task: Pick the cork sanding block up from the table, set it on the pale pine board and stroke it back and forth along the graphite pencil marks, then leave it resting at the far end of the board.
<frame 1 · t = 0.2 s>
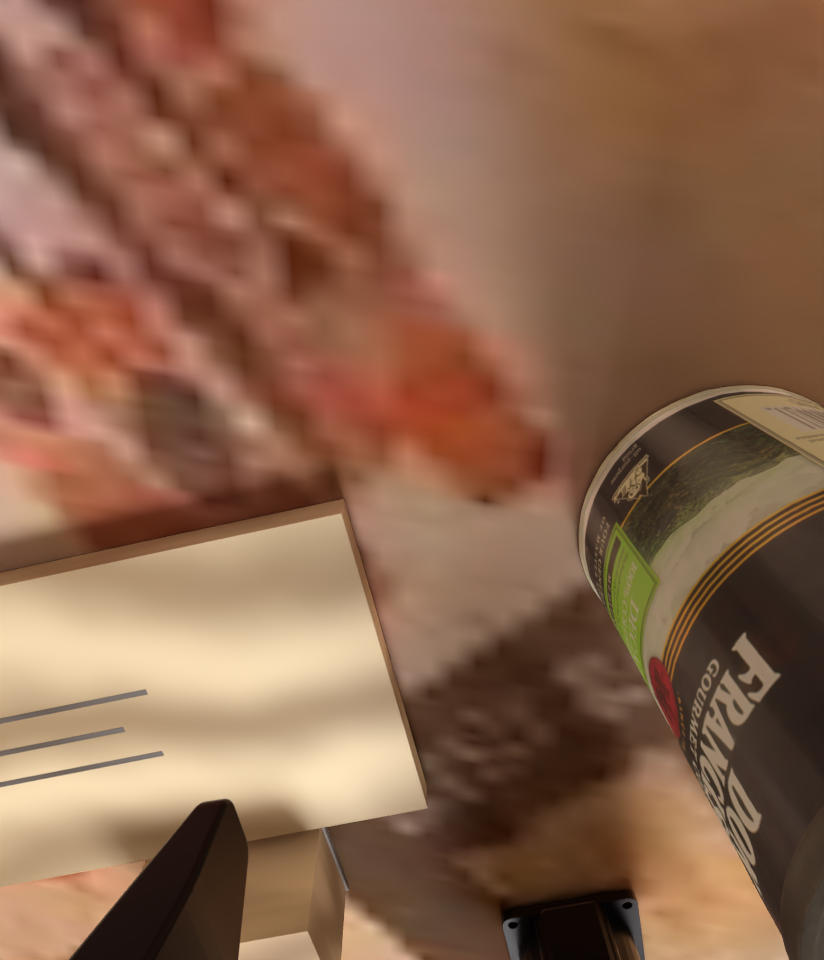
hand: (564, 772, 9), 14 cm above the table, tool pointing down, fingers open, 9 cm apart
coffee can: (715, 519, 24), on the table
sanding block: (250, 864, 30), on the table
board: (100, 714, 26), on the table
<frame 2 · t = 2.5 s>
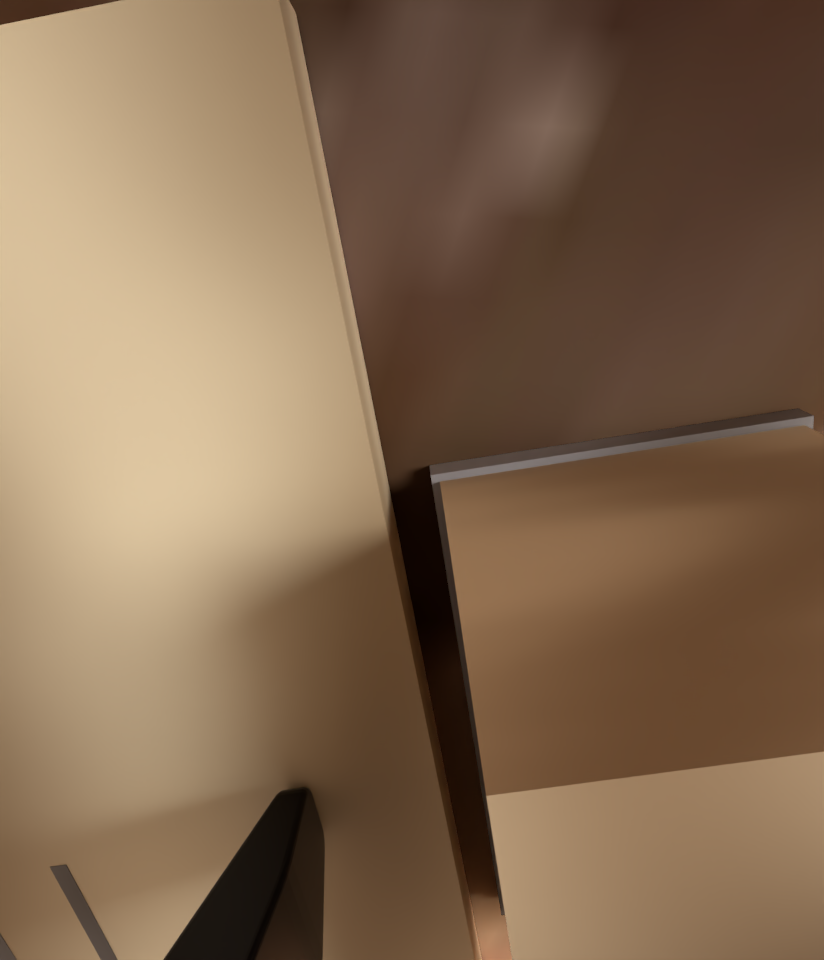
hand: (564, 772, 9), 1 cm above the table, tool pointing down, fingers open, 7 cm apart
sanding block: (621, 691, 10), on the table, touching gripper
board: (63, 910, 11), on the table
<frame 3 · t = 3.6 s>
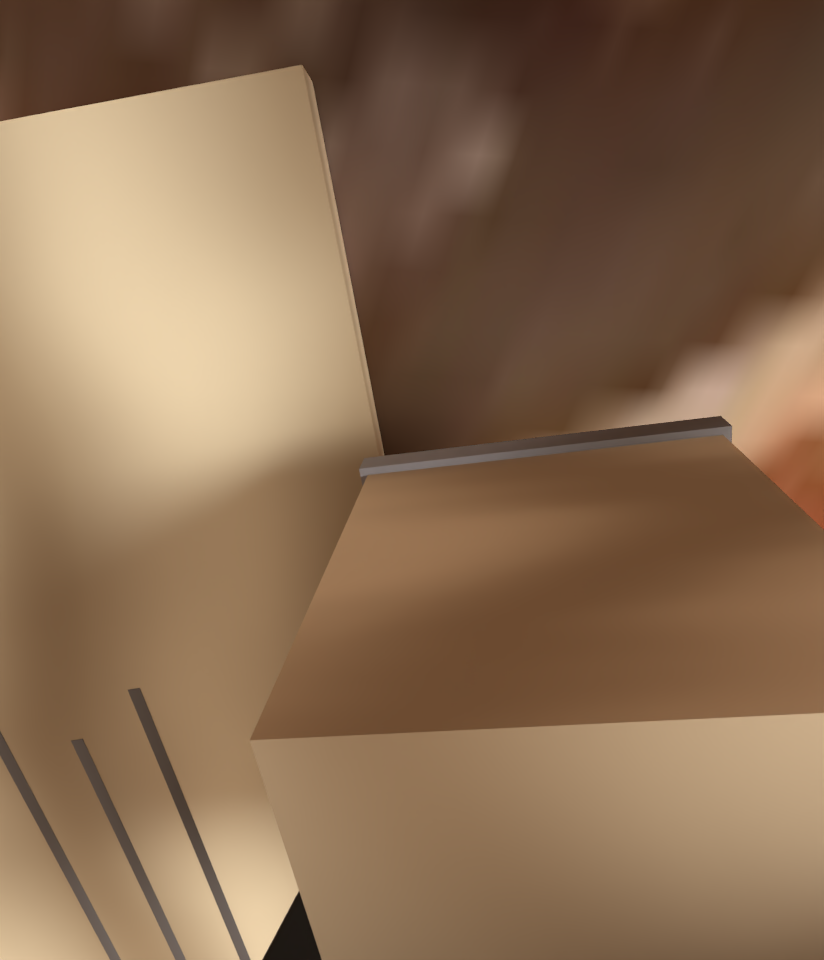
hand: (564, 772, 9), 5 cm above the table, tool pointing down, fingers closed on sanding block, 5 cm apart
sanding block: (558, 688, 10), point 3 cm above the table, tilted 8°, touching gripper
board: (125, 750, 14), on the table
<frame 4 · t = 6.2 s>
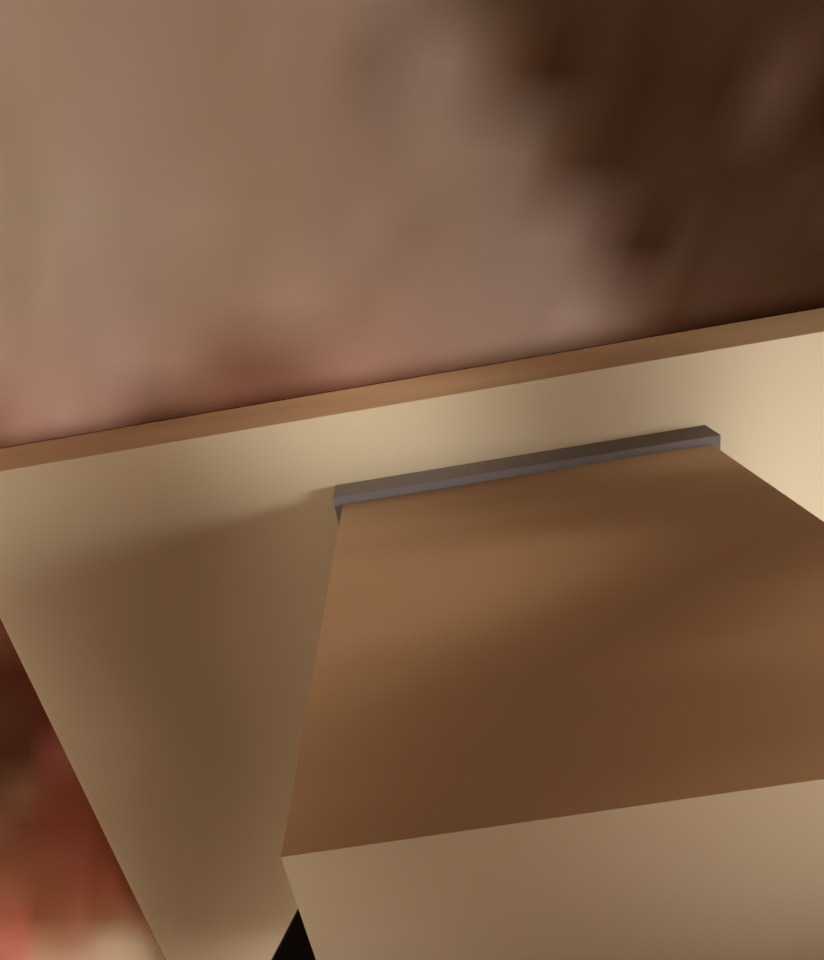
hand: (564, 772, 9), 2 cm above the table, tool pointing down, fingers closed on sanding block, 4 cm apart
sanding block: (546, 714, 9), point 1 cm above the table, touching gripper
board: (558, 938, 13), on the table
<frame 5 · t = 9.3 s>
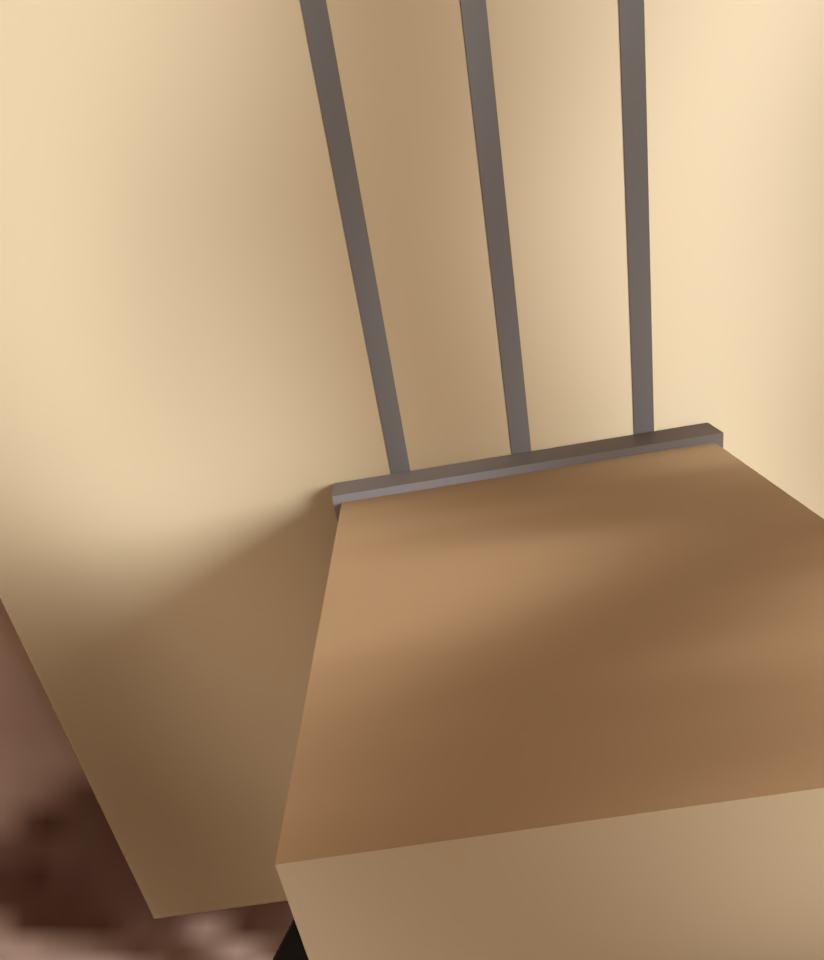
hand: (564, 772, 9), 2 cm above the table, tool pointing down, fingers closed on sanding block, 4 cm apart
sanding block: (547, 712, 9), point 1 cm above the table, touching board, gripper
board: (460, 27, 7), on the table
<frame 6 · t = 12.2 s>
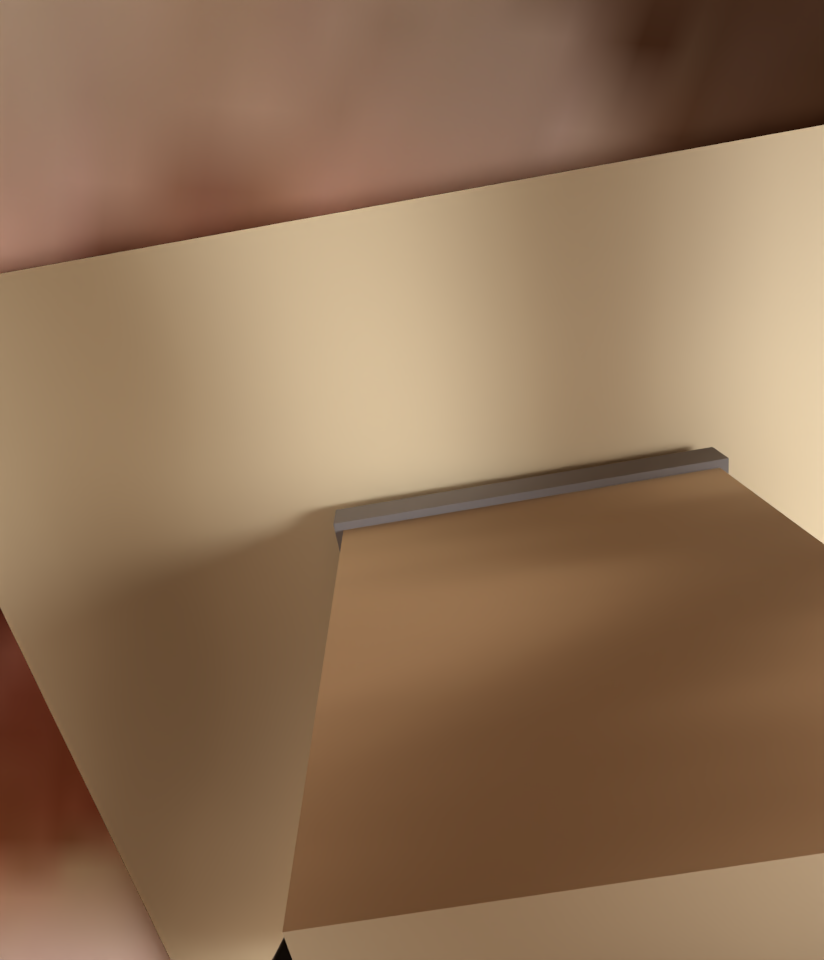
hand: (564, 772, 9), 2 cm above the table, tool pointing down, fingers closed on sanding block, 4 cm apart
sanding block: (551, 738, 9), point 1 cm above the table, touching gripper
board: (554, 865, 12), on the table
when the fingers open (2 cm above the table, at t = 14.8 s): sanding block stays where it is, resting on board.
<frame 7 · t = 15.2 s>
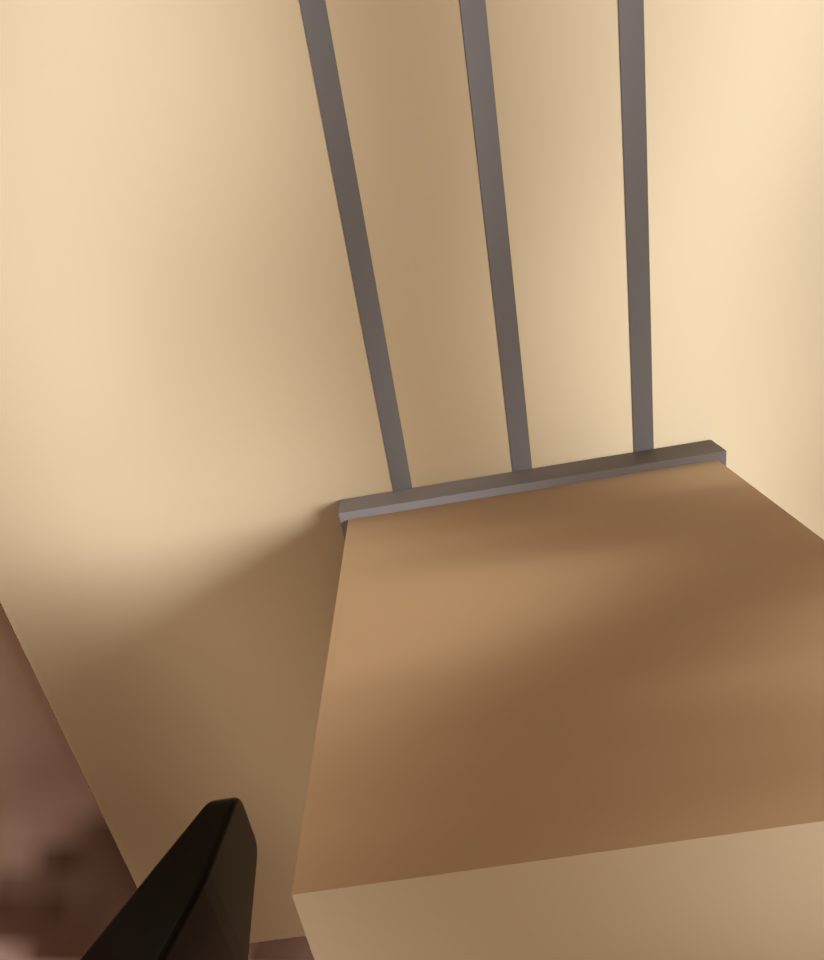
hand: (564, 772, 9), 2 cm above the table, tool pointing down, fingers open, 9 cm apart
sanding block: (550, 724, 9), point 1 cm above the table, touching board
board: (470, 119, 8), on the table
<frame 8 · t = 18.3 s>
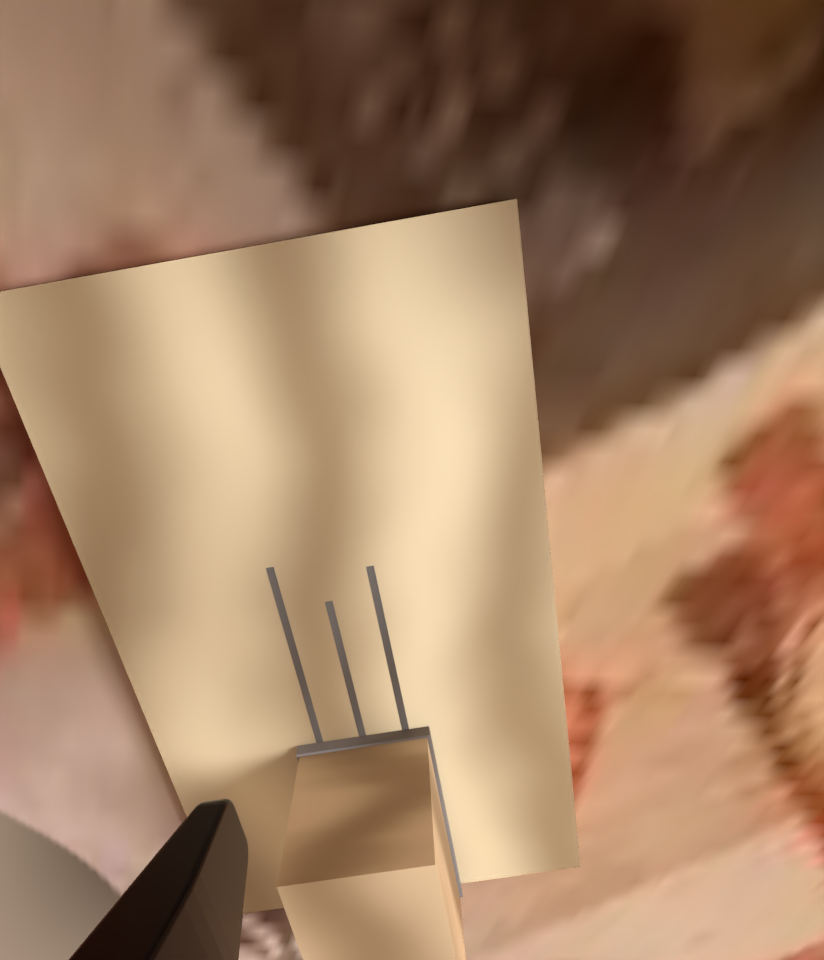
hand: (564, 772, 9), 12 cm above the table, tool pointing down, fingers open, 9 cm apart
sanding block: (384, 820, 24), point 1 cm above the table, touching board
board: (341, 618, 22), on the table
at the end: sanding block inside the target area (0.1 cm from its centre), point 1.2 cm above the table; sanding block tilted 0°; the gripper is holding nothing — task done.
